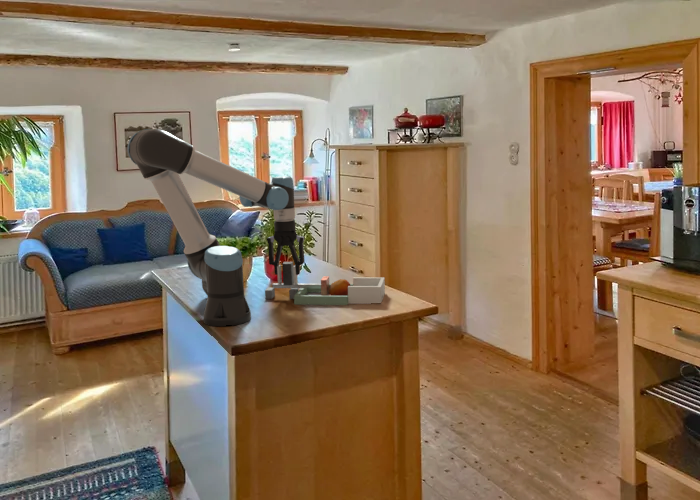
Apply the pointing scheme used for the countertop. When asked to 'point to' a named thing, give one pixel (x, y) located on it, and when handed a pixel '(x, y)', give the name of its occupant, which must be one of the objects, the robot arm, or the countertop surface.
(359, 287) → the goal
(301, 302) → the pitch
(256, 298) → the countertop surface
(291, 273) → the kicker rod
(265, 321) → the countertop surface
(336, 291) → the fruit
